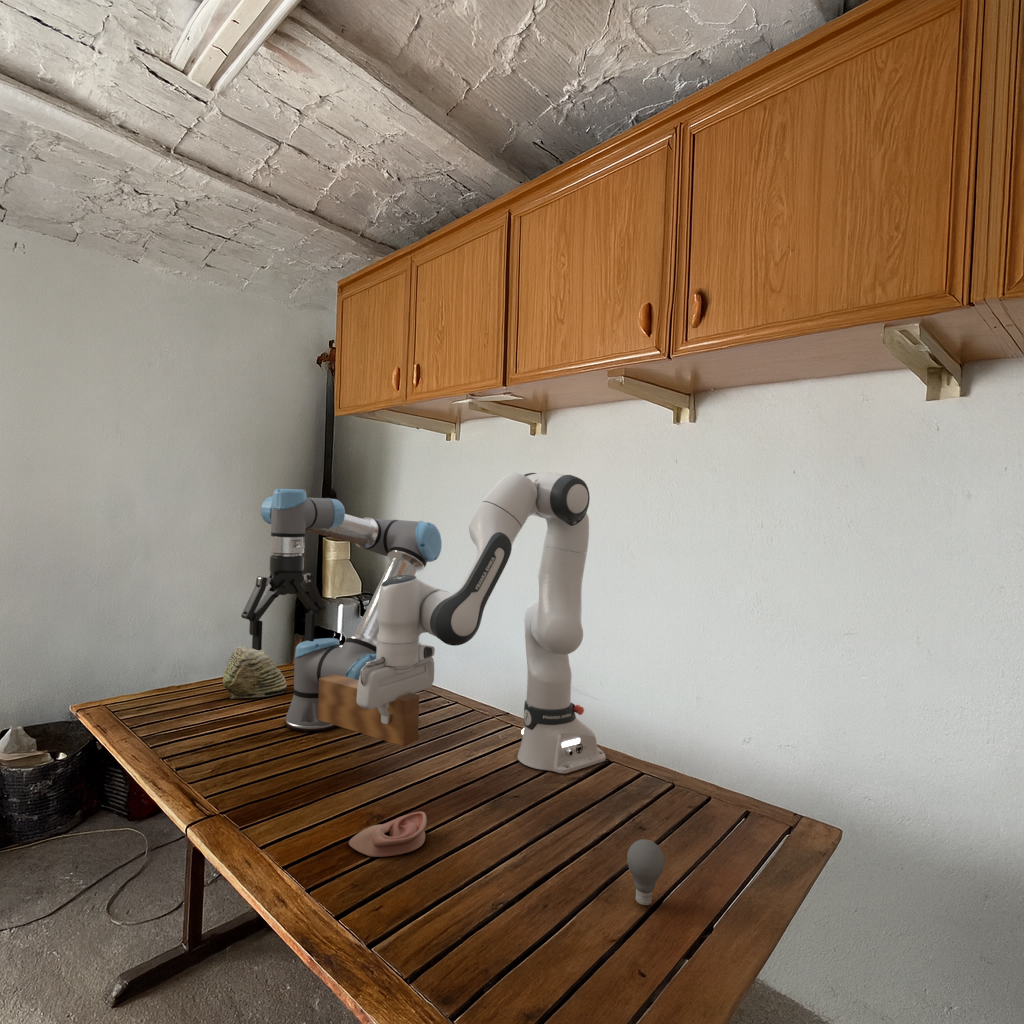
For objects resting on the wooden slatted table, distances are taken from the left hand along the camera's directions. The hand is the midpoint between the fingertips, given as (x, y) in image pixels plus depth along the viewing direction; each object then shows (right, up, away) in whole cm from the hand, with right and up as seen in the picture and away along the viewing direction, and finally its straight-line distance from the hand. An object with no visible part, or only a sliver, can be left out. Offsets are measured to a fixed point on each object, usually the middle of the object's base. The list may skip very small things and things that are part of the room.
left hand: (283, 644), depth 149 cm
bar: (+22, -16, -11) cm, 29 cm away
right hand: (+29, -12, -16) cm, 36 cm away
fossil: (-27, -26, +49) cm, 62 cm away
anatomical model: (+31, -30, -31) cm, 53 cm away
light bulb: (+75, -32, -46) cm, 94 cm away
